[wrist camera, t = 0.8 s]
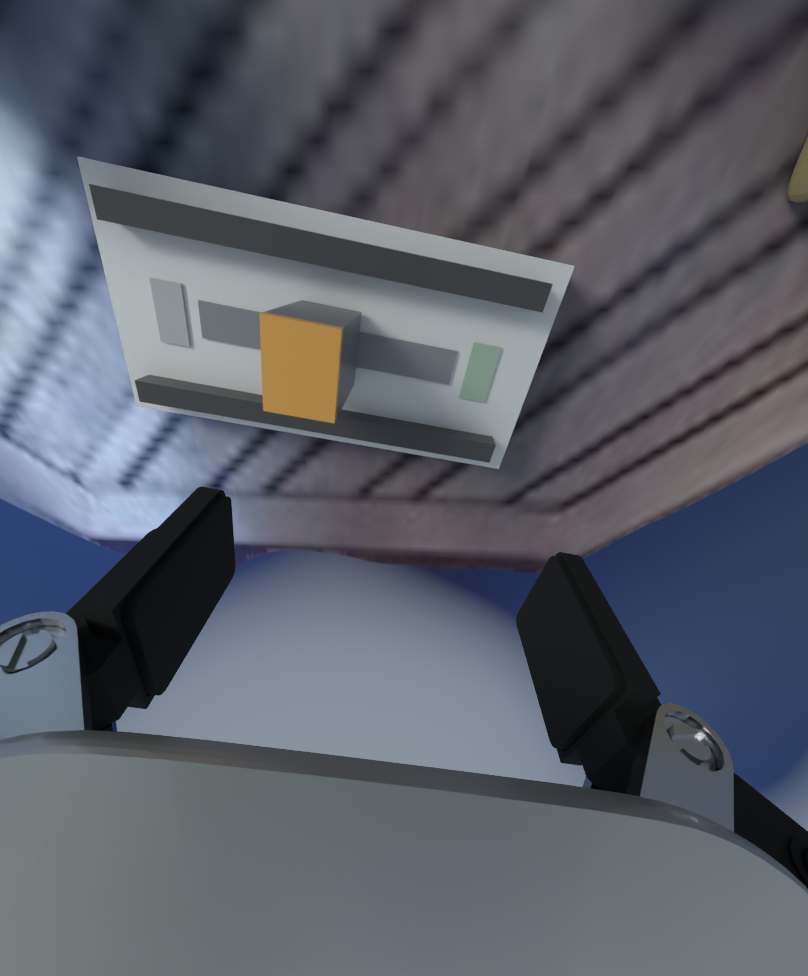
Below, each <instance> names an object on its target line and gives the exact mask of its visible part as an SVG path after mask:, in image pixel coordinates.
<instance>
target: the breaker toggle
mask: <svg viewBox="0 0 808 976" xmlns="http://www.w3.org/2000/svg"><path fill="white" fill-rule="evenodd" d="M259 318H260V343H261V369H262V395H263V411H267V412H272V413H278V414H284V415H289V416H295V417H301V418H306V419H312V420H318V421H323V422H329V423H335V421H336V419H337V417H338V415H339V413H340V411H341V410H342V408H343V406H344V404H345V402H346V400H347V398H348V396H349V394H350V392H351V390H352V388H353V386H354V380H355V371H356V361H357V351H358V342H359V332H360V322H361V312H359V311H354V310H349V309H344V308H339V307H334V306H329V305H324V304H319V303H314V302H309V301H304V300H300V301H297V302H294V303H291V304H288V305H284V306H281V307H278V308H275V309H272V310H268V311H265V312H262V313H259Z"/></svg>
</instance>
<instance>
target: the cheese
mask: <svg viewBox="0 0 808 976" xmlns="http://www.w3.org/2000/svg"><path fill="white" fill-rule="evenodd" d="M787 194H788V198H789V200H790V201H792V202H796V203H800V202H808V137H807V139H806V141H805V144H804V146H803V148H802V151H801V153H800V155H799V158H798V161H797V163H796V166H795V168H794V171H793V173H792V176H791V180H790V183H789V186H788V192H787Z"/></svg>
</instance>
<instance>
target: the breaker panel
mask: <svg viewBox="0 0 808 976" xmlns="http://www.w3.org/2000/svg"><path fill="white" fill-rule="evenodd" d="M77 159H78V163H79V167H80V171H81V176H82V180H83V184H84V188H85V192H86V197H87V201H88V205H89V209H90V213H91V217H92V222H93V226H94V230H95V234H96V238H97V242H98V247H99V251H100V255H101V259H102V263H103V267H104V272H105V276H106V280H107V284H108V288H109V293H110V297H111V301H112V305H113V309H114V313H115V318H116V322H117V326H118V330H119V334H120V338H121V343H122V347H123V351H124V355H125V359H126V363H127V368H128V372H129V376H130V380H131V384H132V389H133V393H134V397H135V401H136V405H137V406H139V407H145V408H151V409H156V410H162V411H168V412H174V413H179V414H185V415H191V416H197V417H202V418H208V419H214V420H220V421H225V422H231V423H237V424H243V425H249V426H254V427H260V428H266V429H272V430H277V431H283V432H289V433H295V434H300V435H306V436H312V437H318V438H323V439H329V440H335V441H341V442H346V443H352V444H358V445H364V446H369V447H375V448H381V449H387V450H392V451H398V452H404V453H410V454H416V455H421V456H427V457H433V458H439V459H444V460H450V461H456V462H462V463H467V464H473V465H479V466H485V467H490V468H496V469H499V467H500V464H501V462H502V459H503V456H504V454H505V451H506V448H507V446H508V443H509V440H510V438H511V435H512V432H513V430H514V427H515V424H516V422H517V419H518V416H519V414H520V411H521V408H522V406H523V403H524V400H525V398H526V395H527V392H528V390H529V387H530V384H531V382H532V379H533V376H534V374H535V371H536V368H537V366H538V363H539V360H540V358H541V355H542V352H543V349H544V347H545V344H546V341H547V339H548V336H549V333H550V331H551V328H552V325H553V323H554V320H555V317H556V315H557V312H558V309H559V307H560V304H561V301H562V299H563V296H564V293H565V291H566V288H567V285H568V283H569V280H570V277H571V275H572V272H573V269H574V267H575V266H572V265H567V264H563V263H558V262H554V261H549V260H545V259H540V258H536V257H531V256H527V255H522V254H518V253H513V252H509V251H504V250H500V249H495V248H490V247H486V246H481V245H477V244H472V243H468V242H463V241H459V240H454V239H450V238H445V237H441V236H436V235H432V234H427V233H422V232H418V231H413V230H409V229H404V228H400V227H395V226H391V225H386V224H382V223H377V222H373V221H368V220H364V219H359V218H354V217H350V216H345V215H341V214H336V213H332V212H327V211H323V210H318V209H314V208H309V207H305V206H300V205H296V204H291V203H286V202H282V201H277V200H273V199H268V198H264V197H259V196H255V195H250V194H246V193H241V192H237V191H232V190H228V189H223V188H218V187H214V186H209V185H205V184H200V183H196V182H191V181H187V180H182V179H178V178H173V177H169V176H164V175H160V174H155V173H151V172H146V171H141V170H137V169H132V168H128V167H123V166H119V165H114V164H110V163H105V162H101V161H96V160H92V159H87V158H83V157H78V156H77ZM300 300H304V301H309V302H314V303H319V304H324V305H329V306H334V307H339V308H344V309H349V310H354V311H359V312H361V322H360V332H359V342H358V351H357V361H356V371H355V380H354V386H353V388H352V390H351V392H350V394H349V396H348V398H347V400H346V402H345V404H344V406H343V408H342V410H341V411H340V413H339V415H338V417H337V419H336V421H335V423H329V422H323V421H318V420H312V419H306V418H301V417H295V416H289V415H284V414H278V413H272V412H267V411H263V395H262V369H261V343H260V318H259V313H262V312H265V311H268V310H272V309H275V308H278V307H281V306H284V305H288V304H291V303H294V302H297V301H300Z"/></svg>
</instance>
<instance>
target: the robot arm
mask: <svg viewBox="0 0 808 976" xmlns="http://www.w3.org/2000/svg"><path fill="white" fill-rule="evenodd" d="M234 572H235V552H234V537H233V521H232V506H231V499H230V497H227V496H225V493H224V491H222V490H218V489H213V488H207V487H199V488H197V489H196V490H195V491H194V492H193V493H192V494H191V495H190V496H189V497H188V498H187V499H186V500H185V501H184V502H183V503H182V504H181V505H180V506H179V507H178V508H177V509H176V510H175V511H174V512H173V513H172V514H171V515H170V516H169V517H168V518H167V519H166V520H165V521H164V522H163V523H162V524H161V525H160V526H159V527H158V528H157V529H154V530H152V531H150V532H149V533H148V534H147V535H146V536H145V537H144V538H143V539H142V540H141V541H140V542H139V543H138V544H137V545H136V546H134V547H133V548H132V549H131V550H130V551H129V552H128V553H127V554H126V555H125V556H124V557H123V558H122V559H121V560H120V561H119V562H118V563H117V564H116V565H115V566H114V567H113V568H112V569H111V570H110V571H109V572H108V573H107V574H106V575H105V576H104V577H103V578H102V579H101V580H100V581H99V582H98V583H97V584H96V585H95V586H94V587H93V588H92V589H91V590H90V591H89V592H88V593H87V594H86V595H85V596H84V597H83V598H82V599H81V600H79V601H78V602H77V603H76V604H75V605H74V606H73V607H72V608H71V609H70V610H69V611H68V612H67V613H66V614H63V613H59V612H39V613H34V614H30V615H25V616H22V617H20V618H17V619H14V620H11V621H9V622H7V623H5V624H3V625H1V626H0V976H808V831H806V830H805V829H804V828H803V827H801V826H800V825H799V824H798V823H796V822H795V821H794V820H793V819H791V818H790V817H789V816H788V815H786V814H785V813H784V812H782V811H781V810H780V809H779V808H778V807H776V806H775V805H774V804H772V803H771V802H770V801H769V800H768V799H766V798H765V797H764V796H762V795H761V794H760V793H759V792H758V791H756V790H755V789H754V788H753V787H751V786H750V785H749V784H748V783H746V782H745V781H744V780H742V779H741V778H740V777H739V776H738V775H736V774H735V773H734V772H733V764H732V759H731V756H730V754H729V752H728V750H727V748H726V746H725V745H724V743H723V742H722V740H721V739H720V738H719V736H718V735H717V734H716V732H715V731H714V730H713V729H712V728H711V727H710V726H709V725H708V724H707V723H706V722H705V721H703V720H702V719H701V718H700V717H698V716H697V715H696V714H694V713H693V712H691V711H689V710H688V709H686V708H684V707H681V706H679V705H676V704H664V705H662V706H661V704H660V702H659V700H658V699H657V697H658V696H659V695H660V694H661V693H660V692H659V690H658V688H657V687H656V685H655V683H654V681H653V680H652V678H651V676H650V674H649V673H648V671H647V669H646V668H645V666H644V664H643V662H642V661H641V659H640V657H639V655H638V654H637V652H636V650H635V649H634V647H633V645H632V643H631V642H630V640H629V638H628V636H627V635H626V633H625V631H624V630H623V628H622V626H621V624H620V623H619V621H618V619H617V617H616V616H615V614H614V612H613V611H612V609H611V607H610V605H609V604H608V602H607V600H606V598H605V597H604V595H603V593H602V592H601V590H600V588H599V586H598V585H597V583H596V581H595V580H594V578H593V576H592V575H591V573H590V571H589V569H588V568H587V566H586V564H585V562H584V560H583V559H582V558H581V557H580V556H578V555H573V554H568V553H562V552H559V553H557V554H556V555H555V556H552V557H550V558H549V560H548V562H547V563H546V565H545V567H544V569H543V570H542V572H541V574H540V576H539V577H538V579H537V581H536V583H535V584H534V586H533V588H532V589H531V591H530V593H529V595H528V596H527V598H526V600H525V602H524V603H523V605H522V607H521V608H520V610H519V612H518V614H517V620H516V621H517V628H518V631H519V635H520V638H521V642H522V645H523V649H524V652H525V656H526V659H527V663H528V666H529V670H530V673H531V677H532V680H533V684H534V687H535V691H536V694H537V697H538V701H539V705H540V708H541V711H542V715H543V719H544V722H545V725H546V729H547V732H548V736H549V739H550V742H551V744H552V746H553V747H554V748H557V751H558V754H559V758H560V761H561V763H567V764H574V765H583V768H584V770H585V774H586V778H585V781H584V784H583V787H576V786H570V785H563V784H556V783H548V782H540V781H533V780H525V779H517V778H510V777H502V776H495V775H486V774H479V773H470V772H464V771H456V770H448V769H440V768H432V767H424V766H416V765H408V764H400V763H392V762H384V761H376V760H368V759H360V758H352V757H344V756H335V755H327V754H319V753H311V752H302V751H294V750H286V749H277V748H269V747H261V746H252V745H243V744H236V743H227V742H219V741H210V740H200V739H191V738H181V737H170V736H161V735H151V734H141V733H131V732H117V726H116V720H118V719H120V717H121V716H122V714H123V713H124V711H125V710H126V708H127V707H135V708H142V709H147V707H148V706H149V704H150V702H151V701H152V699H153V697H154V696H155V695H161V694H162V693H163V692H164V691H165V690H166V688H167V687H168V685H169V683H170V682H171V680H172V679H173V677H174V675H175V674H176V672H177V670H178V669H179V667H180V665H181V663H182V662H183V660H184V658H185V657H186V655H187V653H188V652H189V650H190V648H191V647H192V645H193V643H194V642H195V640H196V638H197V637H198V635H199V633H200V632H201V630H202V628H203V627H204V625H205V623H206V622H207V620H208V618H209V617H210V615H211V613H212V611H213V610H214V608H215V606H216V605H217V603H218V601H219V600H220V598H221V596H222V595H223V593H224V591H225V590H226V588H227V586H228V585H229V583H230V581H231V580H232V578H233V575H234Z"/></svg>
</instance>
